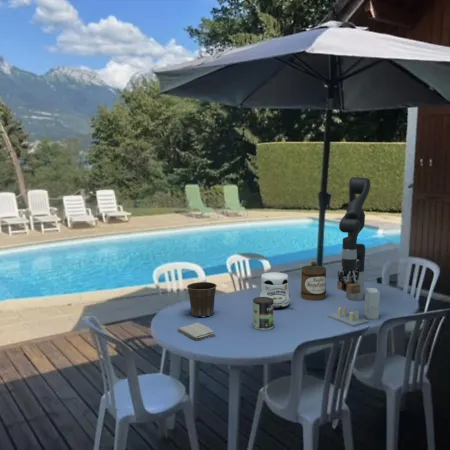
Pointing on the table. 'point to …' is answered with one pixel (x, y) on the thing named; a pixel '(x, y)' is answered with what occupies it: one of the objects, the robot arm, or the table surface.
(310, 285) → the wooden container
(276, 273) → the milk container
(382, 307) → the table surface
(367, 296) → the skincare box
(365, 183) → the robot arm
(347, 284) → the plank
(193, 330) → the washcloth
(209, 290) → the plant pot
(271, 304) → the coffee can
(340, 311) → the peg stand
